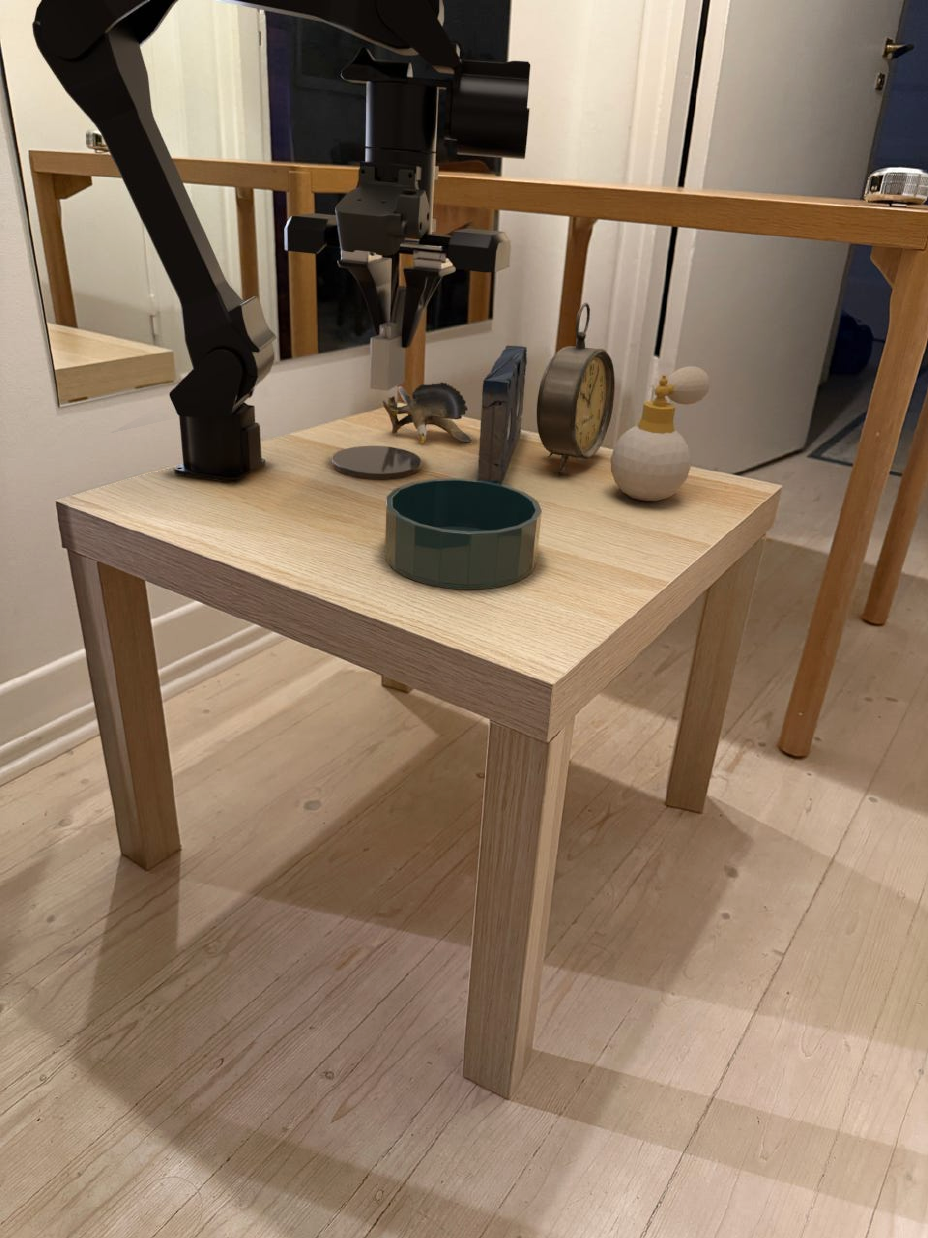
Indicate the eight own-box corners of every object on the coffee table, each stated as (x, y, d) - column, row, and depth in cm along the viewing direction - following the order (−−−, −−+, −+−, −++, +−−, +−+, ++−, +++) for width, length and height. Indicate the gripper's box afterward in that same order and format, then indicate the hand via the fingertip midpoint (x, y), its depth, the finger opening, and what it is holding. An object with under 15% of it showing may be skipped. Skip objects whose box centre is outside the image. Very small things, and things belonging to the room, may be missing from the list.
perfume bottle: (596, 500, 86) (613, 372, 81) (623, 472, 94) (640, 354, 88) (674, 516, 84) (698, 385, 78) (695, 486, 92) (718, 366, 86)
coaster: (317, 471, 89) (317, 465, 89) (351, 446, 97) (351, 441, 96) (404, 484, 87) (405, 478, 87) (432, 457, 95) (432, 452, 94)
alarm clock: (569, 482, 90) (589, 312, 83) (521, 471, 93) (536, 304, 85) (609, 455, 99) (630, 300, 92) (564, 446, 101) (581, 293, 94)
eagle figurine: (384, 438, 96) (468, 428, 95) (379, 373, 97) (463, 362, 96) (397, 457, 103) (475, 449, 103) (392, 397, 104) (470, 388, 103)
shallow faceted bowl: (362, 574, 68) (362, 518, 66) (412, 519, 79) (414, 470, 77) (517, 601, 66) (523, 544, 64) (547, 540, 77) (553, 490, 74)
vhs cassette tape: (499, 432, 105) (506, 343, 100) (524, 435, 104) (532, 346, 100) (471, 482, 89) (477, 379, 84) (501, 486, 88) (509, 382, 84)
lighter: (387, 390, 80) (389, 295, 76) (369, 388, 80) (370, 292, 76) (417, 375, 86) (420, 286, 82) (400, 372, 86) (402, 283, 82)
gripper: (249, 139, 69) (257, 348, 77) (484, 158, 65) (469, 377, 72) (311, 142, 79) (313, 328, 86) (520, 159, 75) (503, 352, 82)
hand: (394, 345), depth 81 cm, fingers closed on lighter, 2 cm apart
